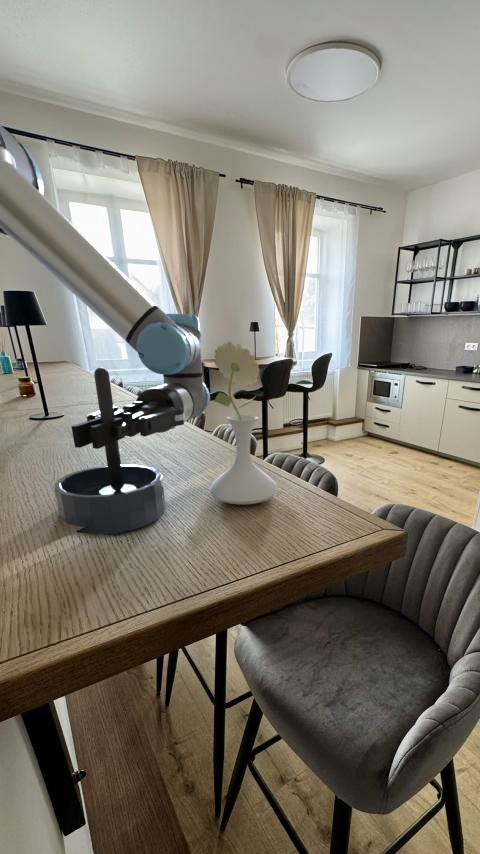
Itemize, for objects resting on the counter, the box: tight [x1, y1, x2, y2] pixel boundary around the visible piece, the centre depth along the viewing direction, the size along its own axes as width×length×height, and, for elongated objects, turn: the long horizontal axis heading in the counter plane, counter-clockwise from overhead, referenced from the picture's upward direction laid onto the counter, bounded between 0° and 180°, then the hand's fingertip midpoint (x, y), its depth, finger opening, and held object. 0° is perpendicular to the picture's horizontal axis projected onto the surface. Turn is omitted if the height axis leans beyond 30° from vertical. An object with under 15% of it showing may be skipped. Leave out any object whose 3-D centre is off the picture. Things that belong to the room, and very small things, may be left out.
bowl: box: [53, 464, 166, 535], centre depth 61 cm, size 15×15×6 cm
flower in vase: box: [209, 341, 278, 506], centre depth 66 cm, size 13×11×25 cm
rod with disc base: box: [93, 367, 137, 495], centre depth 57 cm, size 5×5×20 cm
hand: (85, 437), depth 51 cm, fingers closed on rod with disc base, 2 cm apart
